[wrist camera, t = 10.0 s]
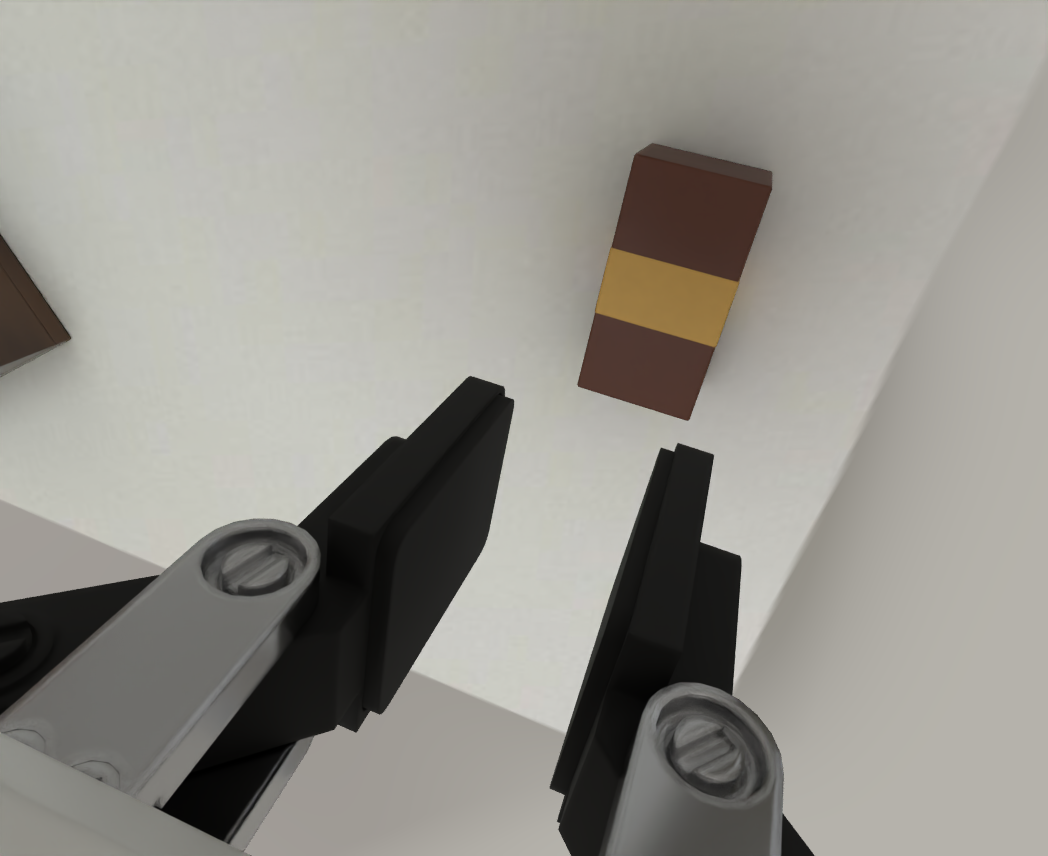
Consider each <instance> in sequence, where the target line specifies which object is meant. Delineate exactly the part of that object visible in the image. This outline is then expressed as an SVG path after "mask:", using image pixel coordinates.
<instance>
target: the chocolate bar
mask: <svg viewBox="0 0 1048 856" xmlns="http://www.w3.org/2000/svg"><path fill="white" fill-rule="evenodd" d="M771 190H772V172H771V171H767V170H763V169H758V168H754V167H750V166H746V165H742V164H738V163H733V162H729V161H725V160H721V159H717V158H712V157H708V156H704V155H700V154H696V153H692V152H687V151H683V150H679V149H675V148H671V147H667V146H662V145H658V144H654V143H652V144H650V145H648V146H647V147H645V148H644V149H642V150H641V151H639V152H638V153H636V154H635V155H634V159H633V163H632V167H631V171H630V175H629V179H628V183H627V187H626V191H625V195H624V199H623V203H622V207H621V211H620V215H619V219H618V223H617V227H616V231H615V235H614V239H613V243H612V247H611V248H610V252H609V256H608V260H607V264H606V268H605V272H604V276H603V280H602V284H601V288H600V292H599V296H598V300H597V304H596V308H595V316H594V320H593V324H592V328H591V332H590V336H589V340H588V344H587V348H586V352H585V356H584V360H583V364H582V368H581V372H580V376H579V380H578V387H581V388H584V389H588V390H591V391H594V392H597V393H600V394H604V395H607V396H610V397H613V398H616V399H620V400H623V401H626V402H629V403H632V404H635V405H639V406H642V407H645V408H648V409H651V410H655V411H658V412H661V413H664V414H667V415H671V416H674V417H677V418H680V419H683V420H687V421H688V420H689V419H690V417H691V414H692V411H693V408H694V406H695V403H696V400H697V397H698V394H699V392H700V389H701V386H702V383H703V380H704V378H705V375H706V372H707V369H708V366H709V364H710V361H711V358H712V355H713V352H714V350H715V347H716V346H717V344H718V341H719V338H720V335H721V332H722V330H723V327H724V324H725V321H726V318H727V316H728V313H729V310H730V307H731V305H732V302H733V299H734V296H735V293H736V291H737V288H738V285H739V281H740V277H741V274H742V271H743V269H744V266H745V263H746V260H747V258H748V255H749V252H750V249H751V246H752V244H753V241H754V238H755V235H756V232H757V230H758V227H759V224H760V221H761V218H762V216H763V213H764V210H765V207H766V204H767V202H768V199H769V196H770V193H771Z"/></svg>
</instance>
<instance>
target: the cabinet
mask: <svg viewBox="0 0 1048 856" xmlns="http://www.w3.org/2000/svg"><path fill="white" fill-rule="evenodd" d="M70 339H71V338H70V337H69V335H68V334H67V332H66V331H65V329H64V328H63V326H62V325H61V323H60V322H59V321H58V319H57V318H56V316H55V315H54V313H53V312H52V310H51V309H50V307H49V306H48V304H47V303H46V302H45V300H44V299H43V297H42V296H41V294H40V293H39V291H38V290H37V288H36V287H35V285H34V284H33V282H32V281H31V280H30V278H29V277H28V275H27V274H26V272H25V271H24V269H23V268H22V266H21V265H20V263H19V262H18V261H17V259H16V258H15V256H14V255H13V253H12V252H11V250H10V249H9V247H8V246H7V244H6V243H5V242H4V240H3V239H2V237H1V236H0V377H2V376H4V375H6V374H7V373H9V372H11V371H13V370H15V369H17V368H18V367H20V366H22V365H24V364H26V363H28V362H30V361H31V360H33V359H35V358H37V357H39V356H41V355H42V354H44V353H46V352H48V351H50V350H52V349H54V348H55V347H57V346H59V345H61V344H63V343H65V342H66V341H68V340H70Z"/></svg>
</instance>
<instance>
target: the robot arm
mask: <svg viewBox="0 0 1048 856" xmlns="http://www.w3.org/2000/svg"><path fill="white" fill-rule="evenodd" d="M513 409H514V400H513V399H511V398H508V397H505V389H504V387H503V386H500V385H497V384H494V383H491V382H488V381H485V380H482V379H479V378H476V377H472V376H469V377H468V378H467V379H466V380H465V381H464V382H463V383H462V384H461V385H460V386H459V387H458V388H457V389H456V390H455V391H454V392H453V393H452V394H451V395H450V396H449V397H448V398H447V399H446V400H445V401H444V402H443V403H442V404H441V405H440V406H439V407H438V408H437V409H436V410H435V411H434V412H433V413H432V414H431V415H430V416H429V417H428V418H427V419H426V420H425V421H424V422H423V423H422V424H421V425H420V426H419V427H418V428H417V429H416V430H415V431H414V432H413V433H412V434H411V435H410V436H409V437H408V438H407V439H403V438H400V437H397V436H395V437H391V438H389V439H388V440H387V441H385V442H384V443H383V444H382V445H381V446H380V447H379V448H378V449H377V450H376V451H375V452H374V453H373V454H372V455H371V456H370V457H369V458H368V459H367V460H365V461H364V462H363V463H362V464H361V465H360V466H359V467H358V468H357V469H356V470H355V471H354V472H353V473H352V474H351V475H350V476H349V477H348V478H347V479H346V480H345V481H344V482H343V483H342V484H340V485H339V486H338V487H337V488H336V489H335V490H334V491H333V492H332V493H331V494H330V495H329V496H328V497H327V498H326V499H325V500H324V501H323V502H322V503H321V504H320V505H319V506H318V507H317V508H316V509H314V510H313V511H312V512H311V513H310V514H309V515H308V516H307V517H306V518H305V519H304V520H303V521H302V522H301V523H300V524H299V525H298V526H296V525H294V524H292V523H289V522H284V521H280V520H276V519H249V520H243V521H237V522H233V523H230V524H228V525H225V526H223V527H220V528H217V529H215V530H214V531H212V532H211V533H209V534H208V535H206V536H205V537H203V538H202V539H200V540H199V541H198V542H197V543H196V544H195V545H193V546H192V547H191V548H190V549H189V550H188V551H187V552H185V553H184V554H183V555H182V556H181V557H180V558H179V559H177V560H176V561H175V562H174V563H173V564H172V565H171V566H170V567H168V568H167V569H166V570H165V571H164V572H163V573H162V574H161V575H156V576H151V577H145V578H139V579H134V580H128V581H122V582H116V583H111V584H105V585H99V586H94V587H88V588H82V589H76V590H71V591H65V592H60V593H53V594H48V595H43V596H37V597H30V598H25V599H20V600H14V601H8V602H2V603H0V856H251V855H249V854H247V853H245V852H244V850H245V849H246V847H247V846H248V844H249V842H250V841H251V839H252V838H253V836H254V835H255V833H256V832H257V830H258V828H259V827H260V825H261V824H262V822H263V820H264V819H265V817H266V816H267V814H268V813H269V811H270V809H271V808H272V806H273V805H274V803H275V802H276V800H277V798H278V797H279V795H280V794H281V792H282V791H283V789H284V787H285V786H286V784H287V783H288V781H289V780H290V778H291V776H292V775H293V773H294V772H295V770H296V769H297V767H298V765H299V764H300V762H301V760H302V759H303V758H304V756H305V754H306V753H307V751H308V749H309V747H310V745H311V742H312V740H313V738H314V736H315V735H318V734H321V733H325V732H328V731H331V730H334V729H335V728H336V726H337V725H340V726H342V727H345V728H347V729H349V730H351V731H354V732H357V731H358V729H359V728H360V726H361V724H362V723H363V721H364V719H365V718H366V716H367V715H368V713H369V712H370V711H373V712H375V713H377V714H382V713H383V712H384V710H385V709H386V708H387V706H388V705H389V703H390V702H391V700H392V698H393V697H394V695H395V693H396V691H397V690H398V688H399V687H400V685H401V684H402V682H403V680H404V679H405V677H406V675H407V674H408V672H409V670H410V669H411V667H412V665H413V664H414V662H415V661H416V659H417V657H418V656H419V654H420V652H421V651H422V649H423V647H424V646H425V644H426V642H427V641H428V639H429V637H430V636H431V634H432V633H433V631H434V629H435V628H436V626H437V624H438V623H439V621H440V619H441V618H442V616H443V614H444V613H445V611H446V609H447V608H448V606H449V605H450V603H451V601H452V600H453V598H454V596H455V595H456V593H457V591H458V590H459V588H460V586H461V585H462V583H463V581H464V580H465V578H466V577H467V575H468V573H469V572H470V570H471V568H472V567H473V565H474V563H475V562H476V560H477V558H478V557H479V555H480V553H481V552H482V550H483V547H484V545H485V542H486V540H487V537H488V533H489V529H490V524H491V519H492V514H493V509H494V504H495V499H496V494H497V489H498V484H499V479H500V474H501V469H502V464H503V459H504V454H505V449H506V444H507V439H508V434H509V429H510V424H511V419H512V414H513ZM713 459H714V455H713V454H710V453H707V452H704V451H701V450H698V449H695V448H692V447H689V446H686V445H682V444H679V443H678V444H677V446H676V449H675V451H674V452H673V451H670V450H667V449H664V448H661V449H660V451H659V454H658V457H657V460H656V463H655V466H654V469H653V472H652V475H651V477H650V480H649V483H648V486H647V489H646V492H645V495H644V498H643V501H642V504H641V506H640V509H639V512H638V515H637V518H636V521H635V524H634V527H633V530H632V533H631V536H630V538H629V541H628V544H627V547H626V550H625V553H624V556H623V559H622V562H621V565H620V568H619V570H618V573H617V576H616V579H615V582H614V585H613V588H612V591H611V594H610V597H609V600H608V604H607V607H606V610H605V613H604V616H603V619H602V623H601V626H600V629H599V632H598V635H597V638H596V642H595V645H594V648H593V651H592V654H591V657H590V661H589V664H588V667H587V670H586V673H585V676H584V680H583V683H582V686H581V689H580V692H579V695H578V699H577V702H576V705H575V708H574V711H573V714H572V718H571V721H570V724H569V727H568V730H567V733H566V737H565V740H564V743H563V746H562V750H561V753H560V756H559V760H558V762H557V765H556V768H555V772H554V775H553V778H552V781H551V784H550V789H552V790H555V791H557V792H559V793H562V794H564V795H565V796H564V799H563V803H562V806H561V810H560V813H559V816H558V820H557V822H559V823H560V826H559V832H560V834H561V836H562V838H563V840H564V842H565V844H566V846H567V848H568V850H569V852H570V854H571V856H814V854H813V853H812V852H811V850H810V849H809V848H808V846H807V845H806V844H805V842H804V841H803V840H802V839H801V837H800V836H799V834H798V833H797V832H796V830H795V829H794V828H793V826H792V825H791V824H790V822H789V821H788V820H787V819H786V817H785V816H784V814H783V813H782V811H783V809H782V808H783V781H784V773H783V766H782V759H781V753H780V751H779V749H778V747H777V744H776V743H775V740H774V738H773V736H772V733H771V732H770V731H769V730H768V728H767V727H766V726H765V724H764V723H763V722H762V721H761V719H760V718H759V717H758V715H757V714H755V713H754V712H753V711H752V710H751V709H750V708H748V707H747V706H746V705H745V704H744V703H743V702H741V701H740V700H739V699H737V698H735V697H733V696H732V692H733V678H734V664H735V650H736V636H737V622H738V608H739V594H740V580H741V566H742V565H741V557H740V556H738V555H736V554H733V553H730V552H727V551H724V550H721V549H718V548H716V547H713V546H710V545H707V544H704V543H701V542H700V540H701V533H702V527H703V521H704V515H705V509H706V503H707V496H708V490H709V484H710V478H711V472H712V466H713Z"/></svg>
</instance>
